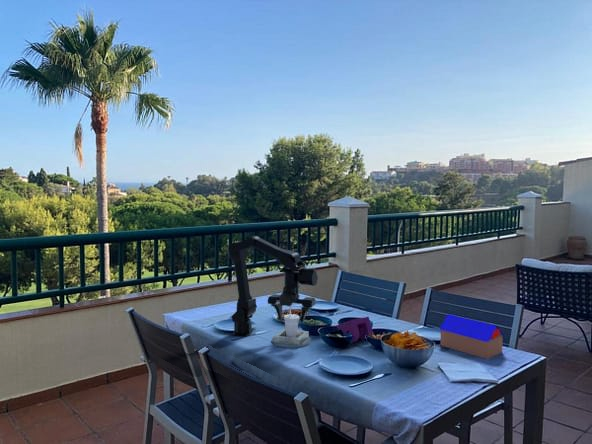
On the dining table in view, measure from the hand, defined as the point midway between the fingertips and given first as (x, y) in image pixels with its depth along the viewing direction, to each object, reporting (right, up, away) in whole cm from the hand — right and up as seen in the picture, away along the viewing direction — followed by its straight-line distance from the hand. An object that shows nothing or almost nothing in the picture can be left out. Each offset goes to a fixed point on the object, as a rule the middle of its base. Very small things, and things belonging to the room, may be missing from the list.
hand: (291, 321), depth 186 cm
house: (+70, -9, -8) cm, 71 cm away
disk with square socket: (0, -8, +1) cm, 8 cm away
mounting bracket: (+24, -8, +7) cm, 26 cm away
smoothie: (0, -8, +1) cm, 8 cm away
